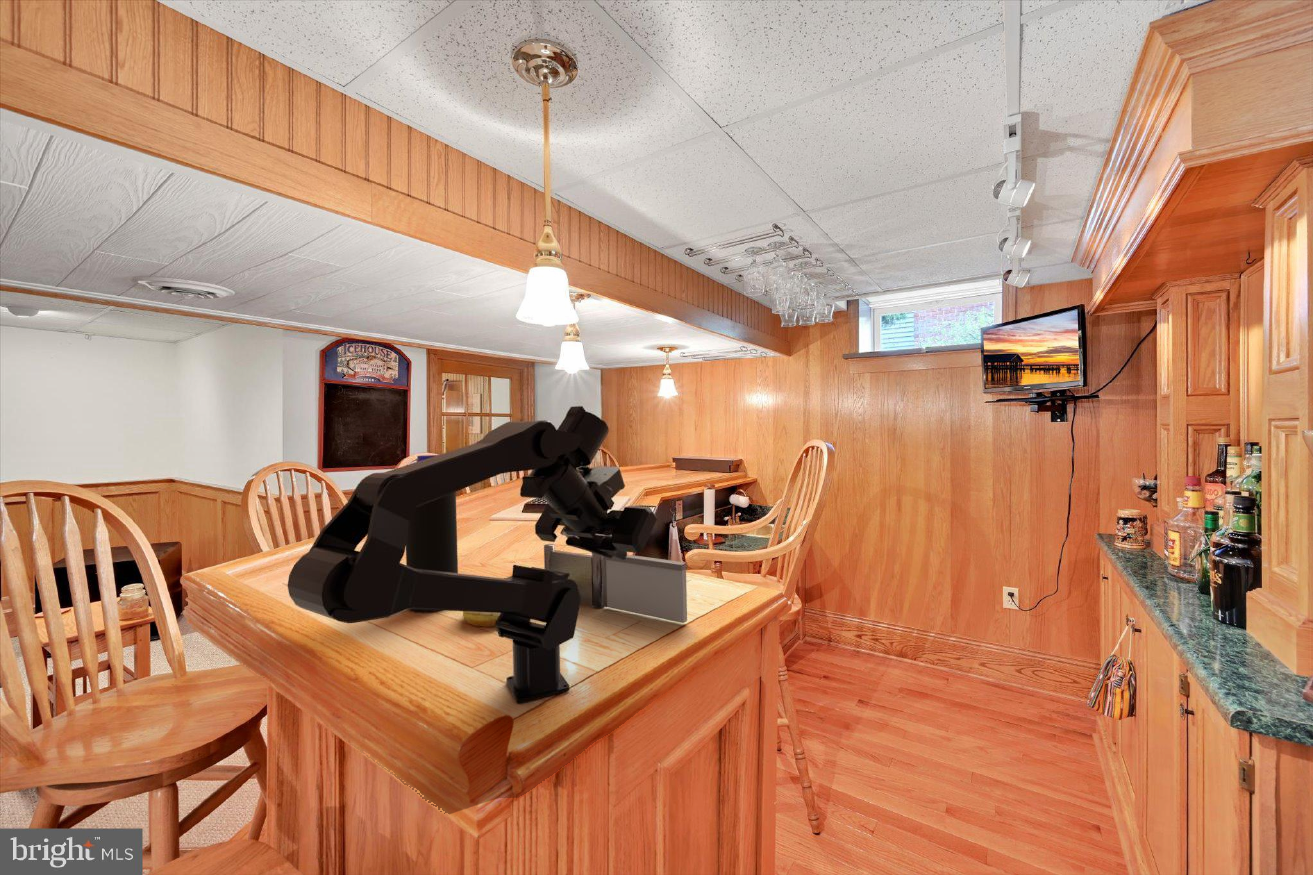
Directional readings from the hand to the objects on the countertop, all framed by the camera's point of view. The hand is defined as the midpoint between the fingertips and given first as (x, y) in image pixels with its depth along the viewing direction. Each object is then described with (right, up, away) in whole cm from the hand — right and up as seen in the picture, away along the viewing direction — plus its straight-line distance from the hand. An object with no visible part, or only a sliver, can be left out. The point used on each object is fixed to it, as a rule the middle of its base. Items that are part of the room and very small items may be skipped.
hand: (618, 556), depth 80 cm
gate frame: (-10, -13, +18) cm, 24 cm away
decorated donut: (-22, -13, +10) cm, 28 cm away
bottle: (-36, -13, +18) cm, 42 cm away
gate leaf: (+3, -12, +9) cm, 16 cm away
